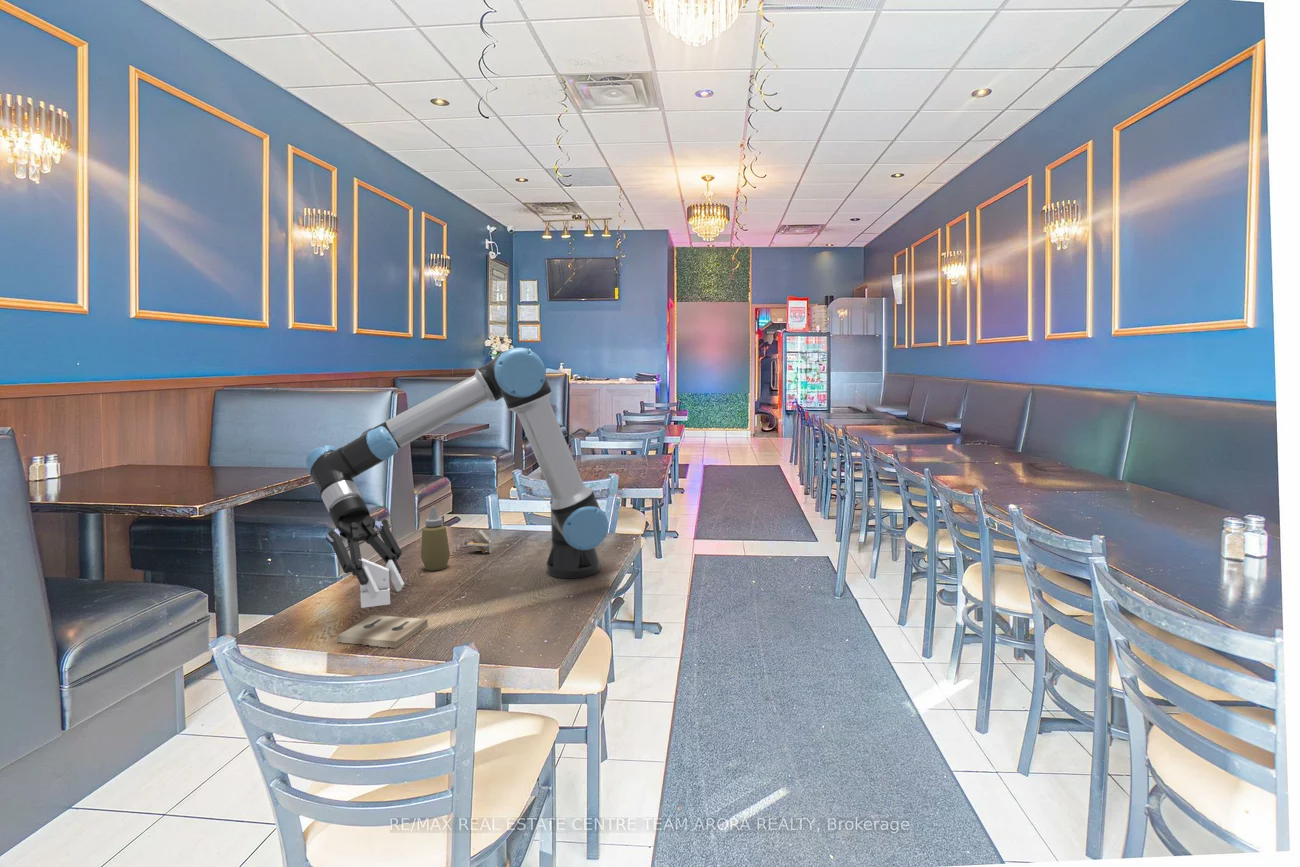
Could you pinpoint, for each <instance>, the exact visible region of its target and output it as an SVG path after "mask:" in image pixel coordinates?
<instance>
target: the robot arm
mask: <svg viewBox="0 0 1300 867" xmlns="http://www.w3.org/2000/svg"><path fill="white" fill-rule="evenodd" d="M546 373H547V372H546V367H545V364H544V362H543V360H542V359H541V358H540V356H539V355H538V354H536V352H534V351H533V350H530V349H528V348H527V347H513V348H509V349H507V350H504V351H502V352H500V353H499V354H498V355H497V356H495V358H493V359H492V360H491V361H489V362H487V363H486V364H484V365H482V366H481V367H479V368H477V369H476V370H475V373H474V374H473V375H472V376H469V377H468V378H466V379H464V380H462V381H460V382H459V383H457V384H455V385H453V386H450V387H448V388H447V389H445V390H443V391H442V392H439V393H437V394H435V395H433V396H431V397H430V398H427V399H426V400H424V401H421V402H420V403H418V404H416V405H414V406H413V407H411V408H409V409H406V410H405V411H403V412H400V413H399V414H397V415H395V416H393V417H391V418H390V419H387V420H386V421H385V422H382V423H380V424H378V425H376V426H373V427H371V428H369V429H367V430H365V431H363V432H362V433H361V435H360V436H359V437H357V438H356V439H353V440H352V441H350V442H348V443H347V444H345V445H343V446H341V447H340V448H339V447H335V446H333V445H329V444H328V445H327V444H324V445H323V446H321V447H320V446H318V447H316V448H314V449H312V450H310V451H309V453H308V454H307V456H306V459H305V464H306V467H307V470H308V471H309V477H310V478H311V479H312V481H313V483H314V485H315V487H316V489H317V491H318V494H320V497H321V500H322V501H323V503H324V505H325V507H326V510H327V511H328V513H329V516H330V519H331V521H332V523H333V524H334V526H335V529H330V530H329V531H328V533H327V534H326V537H325V540H326V541H327V542H328V543H329V544H330V545H331V546H332V549H333V551H334V554H335V556H336V558H337V560H338V563H339V565H340V567H341V568H342V571H343V573H345V574H349V573H351V575H352V576H353V577H354V576H355V577H356V578H357V580H358V582H359V585H360V584H361V585H365V586H366V588H367V590H368V592H369V595H370V597H371V599H374V598H376V596H377V594H378V593H379V589H378V587H377V585H376V583H375V581H374V579H373V577H372V575H371V573H370V571H369V569H368V567H367V566H364V567H363V568H362V561H361V560H362V559H361V558H362V554H361V553H362V552H361V548H360V541H363V542H365V543H366V544H367V545H369V546H371V547H372V549H373V550H374V551H375V552H376V553H377V555H379V557H380V558H381V559H382V560H383V561H384V562H385V563H386V564H385V566H384V567H386V568H388V569H389V580H390V581H391V583H392V585H393V587H394V588H395V591H396V592H401V591H402V589H403V588H404V585H405V581H404V580H403V578H402V576H401V573H402V569H401V567H400V564H399V563H398V562H397V561H399V559H400V558H401V555H402V554H403V553H402V549H401V548H400V546H399V544H398V542H397V540H396V539H395V537H394V535H393V533H392V532H391V530H390V528H389V522H388V519H386V518H384V519H382V521H381V520H380V521H378V520H376V519H375V518H373V517H372V516H371V515H370V511H369V508H368V507H367V504H366V502H365V500H364V499H363V498H362V494H361V492H360V490H359V489H358V487H357V485H356V483H355V481H354V478H355V477H357V476H360V475H361V474H362V473H364V472H367V471H368V470H370V469H372V468H374V467H375V466H377V465H379V464H380V463H382V462H384V461H387V460H389V459H390V458H391V457H393V456H395V455H396V454H397V453H398V452H399V449H400V448H402V447H404V446H405V445H407V444H410V443H412V442H413V441H415V440H417V439H419V438H421V437H423V436H425V435H426V434H428V433H430V432H432V431H433V430H436V429H438V428H440V427H442V426H443V425H445V424H447V423H449V422H451V421H452V420H454V419H456V418H459V417H460V416H463V415H464V414H466V413H468V412H470V411H472V410H474V409H476V408H477V407H479V406H481V405H483V404H485V403H487V402H489V401H490V402H497V401H500V399H504V402H505V405H506V407H507V409H508V410H509V411H511V412H513V413H515V414H517V417H518V420H519V422H520V424H521V426H522V428H523V431H524V433H525V435H526V438H527V441H528V444H529V445H530V448H531V449H532V452H533V455H534V457H535V459H536V462H537V464H538V467H539V468H540V471H541V473H542V476H543V478H544V480H545V483H546V485H547V488H548V490H549V491H550V501H549V505H550V524H551V525H550V526H551V547H550V549H549V553H548V556H547V559H546V563H545V569H546V570H545V571H546V574H547V575H549V576H551V577H554V578H560V579H577V578H578V579H579V578H584V577H589V576H593V575H595V574H597V573H598V572H600V571H601V561H600V560H601V559H600V557H599V555H598V552H597V549H596V547H598V546H599V545H600V544H602V543H603V541H605V539H606V537H607V535H608V533H609V521H608V519H607V518H608V517H607V515H606V513H604V511H603V510H602V509H601V507H600V506H599V503H598V500H597V498H596V495H595V493H594V491H593V489H592V488H591V487H589V486H586V485H584V481H583V479H582V477H581V475H580V472H579V470H578V468H577V465H576V463H575V460H574V458H573V454H572V452H571V451H570V447H569V445H568V442H567V441H566V439H565V436H564V434H563V431H562V429H561V427H560V423H559V421H558V419H557V417H556V414H555V411H554V410H553V407H552V404H551V402H550V398H551V396H552V394H553V393H552V392H553V391H552V389H551V386H550V384H549V382H548V379H547V376H546ZM375 528H376V530H375ZM378 533H379V535H378ZM379 536H380V537H381V538H380V537H379ZM342 537H343V538H344V539H346V542H347V546H348V548H349V553H348V551H347V550H348V549H347V548H346V545H345V544H344V541H343V540H342ZM359 559H360V560H359Z"/></svg>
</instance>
